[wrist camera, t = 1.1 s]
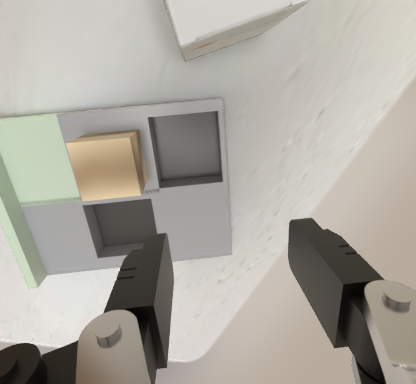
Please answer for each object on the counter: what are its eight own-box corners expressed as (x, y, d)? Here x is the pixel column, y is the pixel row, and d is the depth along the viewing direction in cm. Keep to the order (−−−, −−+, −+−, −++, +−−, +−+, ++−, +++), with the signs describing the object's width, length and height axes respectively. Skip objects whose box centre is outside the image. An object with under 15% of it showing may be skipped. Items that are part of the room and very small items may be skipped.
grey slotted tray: (-5, 118, 26) (-43, 124, 22) (219, 97, 26) (225, 100, 22) (49, 262, 32) (28, 288, 28) (229, 243, 33) (234, 265, 29)
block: (84, 134, 24) (65, 143, 21) (138, 129, 25) (129, 137, 21) (97, 185, 26) (82, 201, 23) (147, 180, 26) (141, 195, 23)
